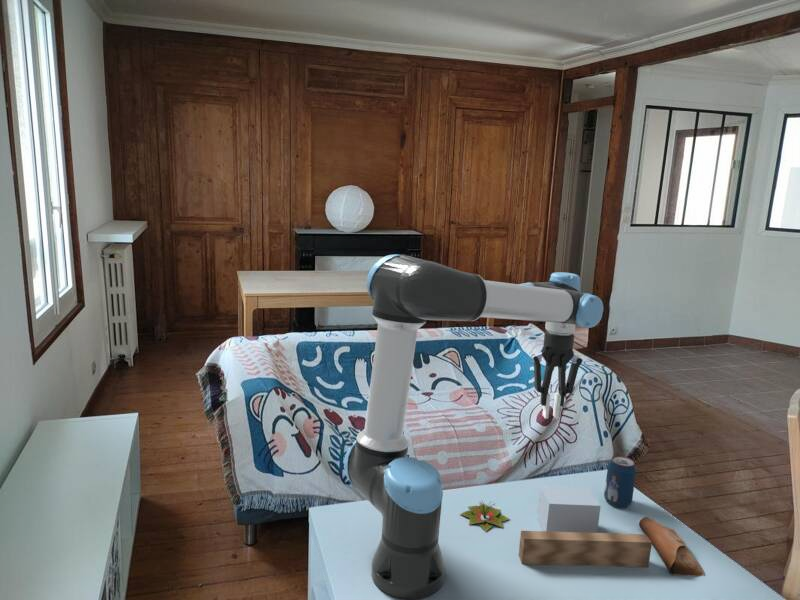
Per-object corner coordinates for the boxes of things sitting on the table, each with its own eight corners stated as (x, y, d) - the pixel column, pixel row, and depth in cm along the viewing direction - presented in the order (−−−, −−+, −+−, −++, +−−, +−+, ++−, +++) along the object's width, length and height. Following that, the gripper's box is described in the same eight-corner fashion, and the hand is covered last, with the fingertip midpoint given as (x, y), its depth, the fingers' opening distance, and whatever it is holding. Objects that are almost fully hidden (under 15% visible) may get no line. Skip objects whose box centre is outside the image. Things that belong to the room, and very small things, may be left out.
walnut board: (521, 563, 124) (524, 538, 123) (518, 555, 127) (521, 530, 126) (648, 567, 125) (652, 542, 124) (642, 558, 128) (645, 534, 127)
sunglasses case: (709, 577, 123) (697, 552, 122) (678, 590, 124) (666, 565, 123) (672, 528, 141) (661, 506, 140) (645, 540, 141) (634, 518, 140)
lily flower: (450, 515, 142) (451, 498, 141) (483, 500, 150) (484, 484, 149) (486, 539, 133) (488, 522, 132) (519, 522, 141) (521, 505, 140)
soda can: (630, 499, 154) (636, 457, 152) (632, 512, 147) (638, 469, 145) (603, 493, 156) (608, 452, 154) (603, 506, 149) (609, 463, 147)
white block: (545, 538, 134) (549, 503, 132) (536, 519, 142) (540, 486, 140) (596, 540, 134) (600, 505, 133) (584, 521, 142) (588, 488, 140)
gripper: (534, 334, 145) (525, 421, 150) (593, 336, 146) (583, 423, 150) (527, 327, 153) (519, 410, 157) (583, 329, 153) (573, 412, 158)
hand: (550, 416), depth 154 cm, fingers open, 2 cm apart
